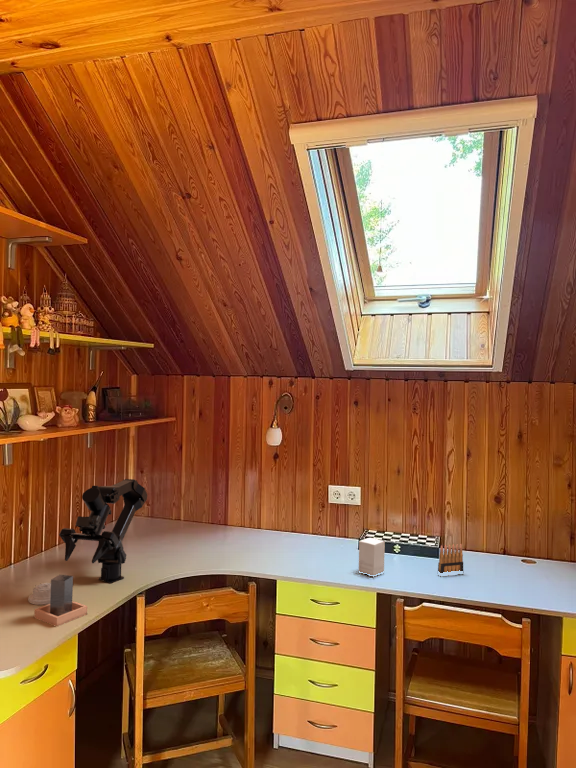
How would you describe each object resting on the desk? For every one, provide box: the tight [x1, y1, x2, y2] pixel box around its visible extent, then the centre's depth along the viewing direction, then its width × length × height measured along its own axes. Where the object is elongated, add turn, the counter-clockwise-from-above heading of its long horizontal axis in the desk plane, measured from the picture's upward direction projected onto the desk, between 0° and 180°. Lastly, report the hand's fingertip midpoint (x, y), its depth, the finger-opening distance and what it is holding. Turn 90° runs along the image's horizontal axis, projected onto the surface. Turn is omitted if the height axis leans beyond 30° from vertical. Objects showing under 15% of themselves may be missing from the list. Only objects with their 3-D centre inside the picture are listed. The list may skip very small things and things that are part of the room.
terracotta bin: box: [34, 600, 88, 627], centre depth 168 cm, size 11×11×2 cm
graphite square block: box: [50, 574, 74, 616], centre depth 168 cm, size 4×4×11 cm
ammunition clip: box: [437, 543, 464, 573], centre depth 216 cm, size 11×2×12 cm, turn 110°
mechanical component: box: [28, 582, 51, 606], centre depth 181 cm, size 10×4×10 cm
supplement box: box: [358, 537, 386, 575], centre depth 216 cm, size 7×7×13 cm
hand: (79, 561), depth 178 cm, fingers open, 9 cm apart
